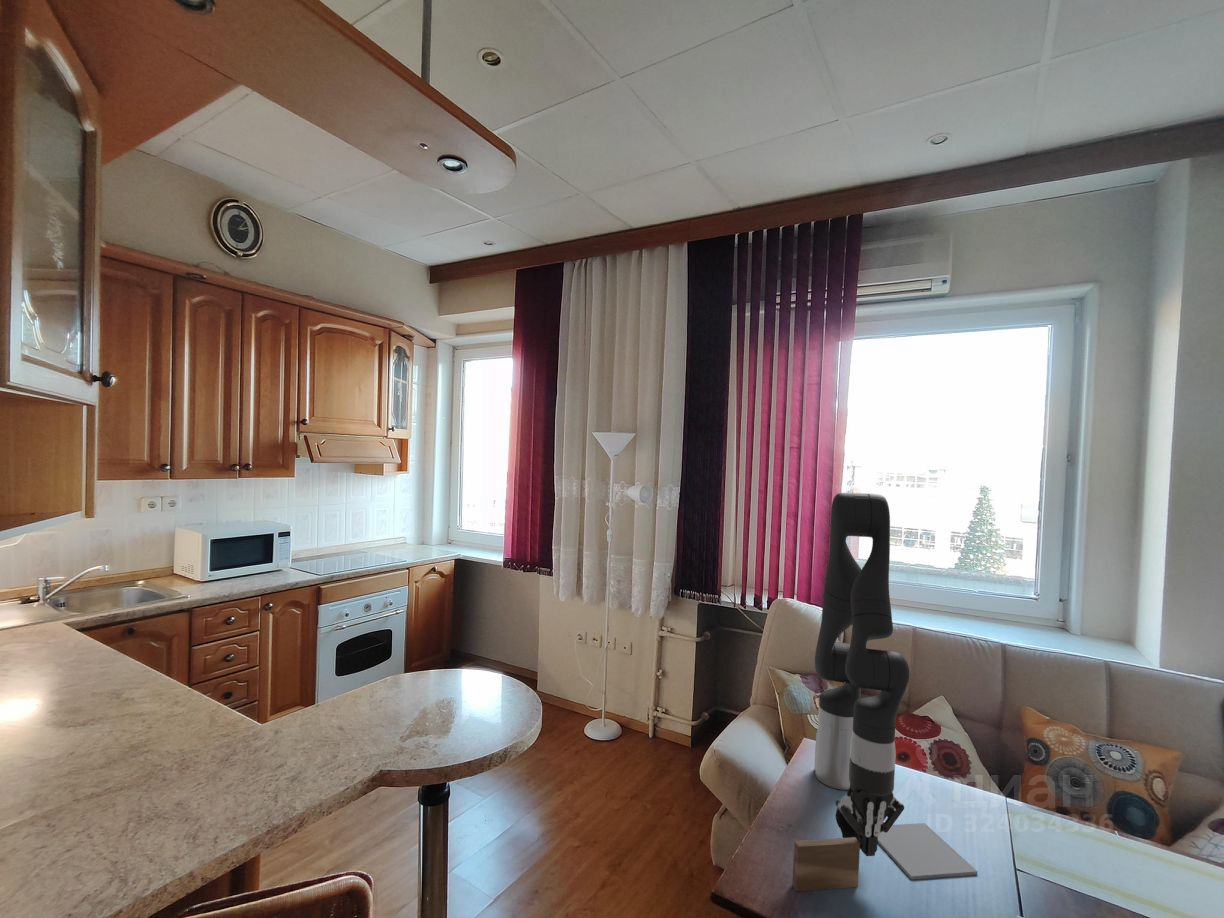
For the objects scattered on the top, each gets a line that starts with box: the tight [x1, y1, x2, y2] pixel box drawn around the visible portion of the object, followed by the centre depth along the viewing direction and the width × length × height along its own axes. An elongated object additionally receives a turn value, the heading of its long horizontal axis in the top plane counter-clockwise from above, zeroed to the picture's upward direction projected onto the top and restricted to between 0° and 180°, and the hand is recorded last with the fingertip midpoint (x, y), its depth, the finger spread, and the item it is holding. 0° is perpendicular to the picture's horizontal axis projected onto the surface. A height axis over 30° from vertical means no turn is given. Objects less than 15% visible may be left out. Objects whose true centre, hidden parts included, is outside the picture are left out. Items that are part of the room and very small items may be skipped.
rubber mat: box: [877, 822, 978, 880], centre depth 111 cm, size 14×14×1 cm
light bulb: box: [835, 804, 859, 841], centre depth 109 cm, size 6×6×10 cm
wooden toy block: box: [791, 837, 861, 892], centre depth 100 cm, size 2×12×8 cm, turn 99°
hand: (867, 853), depth 101 cm, fingers closed
